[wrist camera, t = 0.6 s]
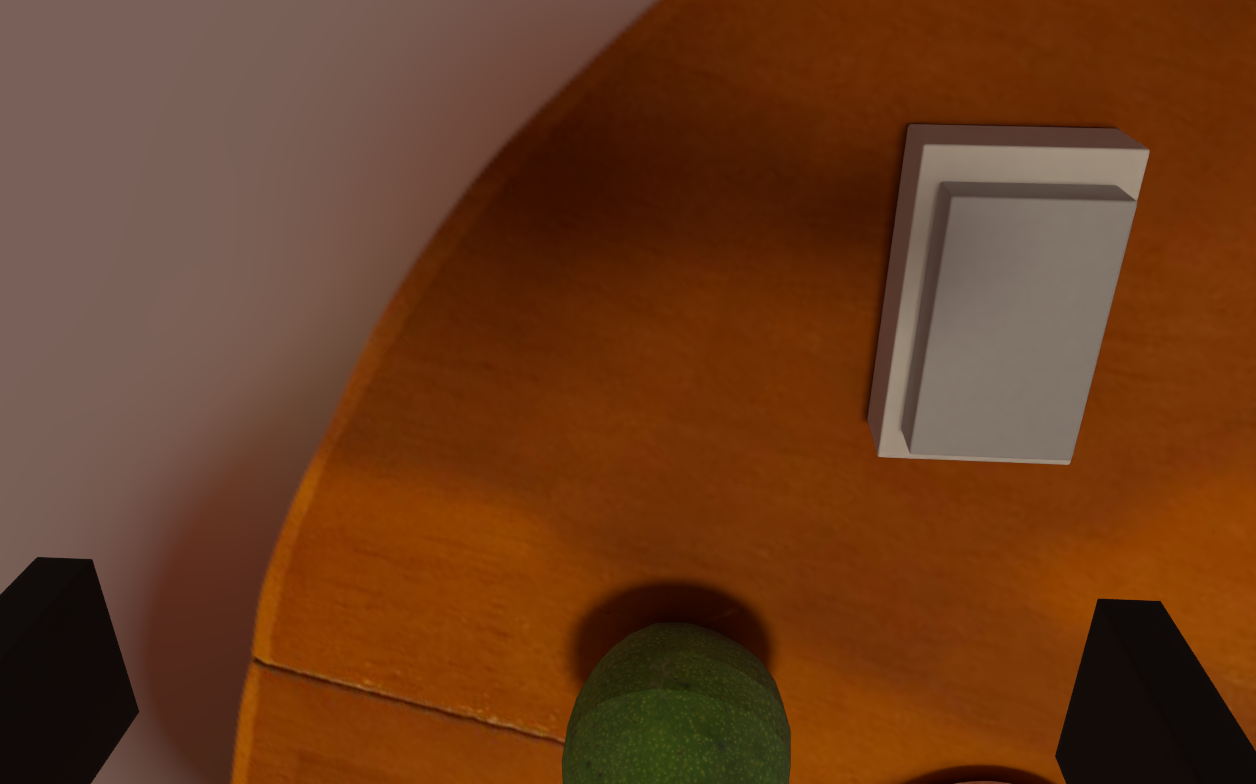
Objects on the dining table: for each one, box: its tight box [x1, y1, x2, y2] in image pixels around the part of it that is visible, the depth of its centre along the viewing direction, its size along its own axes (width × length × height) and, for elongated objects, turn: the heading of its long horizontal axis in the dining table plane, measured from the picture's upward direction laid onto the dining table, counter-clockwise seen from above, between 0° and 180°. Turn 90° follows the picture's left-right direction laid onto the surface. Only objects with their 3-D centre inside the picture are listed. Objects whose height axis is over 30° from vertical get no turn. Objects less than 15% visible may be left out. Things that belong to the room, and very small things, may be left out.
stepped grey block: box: [867, 124, 1150, 465], centre depth 30 cm, size 10×6×4 cm, turn 0°
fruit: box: [562, 622, 791, 784], centre depth 34 cm, size 8×8×12 cm
